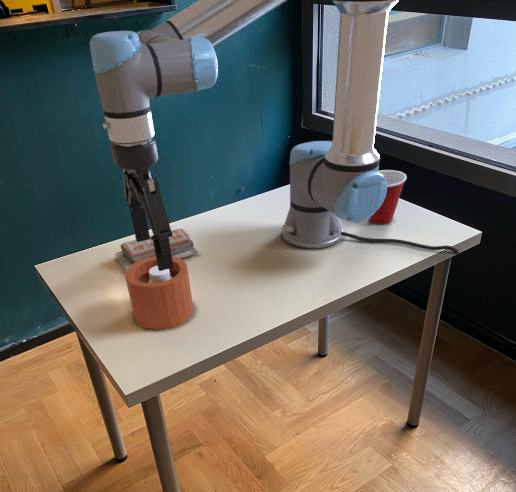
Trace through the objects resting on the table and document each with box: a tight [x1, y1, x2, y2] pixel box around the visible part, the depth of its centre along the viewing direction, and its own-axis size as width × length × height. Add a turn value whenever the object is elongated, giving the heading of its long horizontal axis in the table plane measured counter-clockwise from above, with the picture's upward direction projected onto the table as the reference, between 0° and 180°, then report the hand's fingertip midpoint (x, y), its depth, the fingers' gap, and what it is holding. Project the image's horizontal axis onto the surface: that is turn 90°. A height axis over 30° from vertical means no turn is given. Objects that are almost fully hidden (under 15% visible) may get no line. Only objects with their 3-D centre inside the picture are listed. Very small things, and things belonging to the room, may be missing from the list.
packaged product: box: [114, 228, 199, 272], centre depth 125 cm, size 18×5×10 cm
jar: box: [124, 257, 194, 331], centre depth 104 cm, size 12×12×10 cm
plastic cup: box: [369, 169, 408, 225], centre depth 135 cm, size 11×11×12 cm
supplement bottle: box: [148, 266, 172, 283], centre depth 104 cm, size 5×5×10 cm
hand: (154, 253), depth 99 cm, fingers open, 13 cm apart
